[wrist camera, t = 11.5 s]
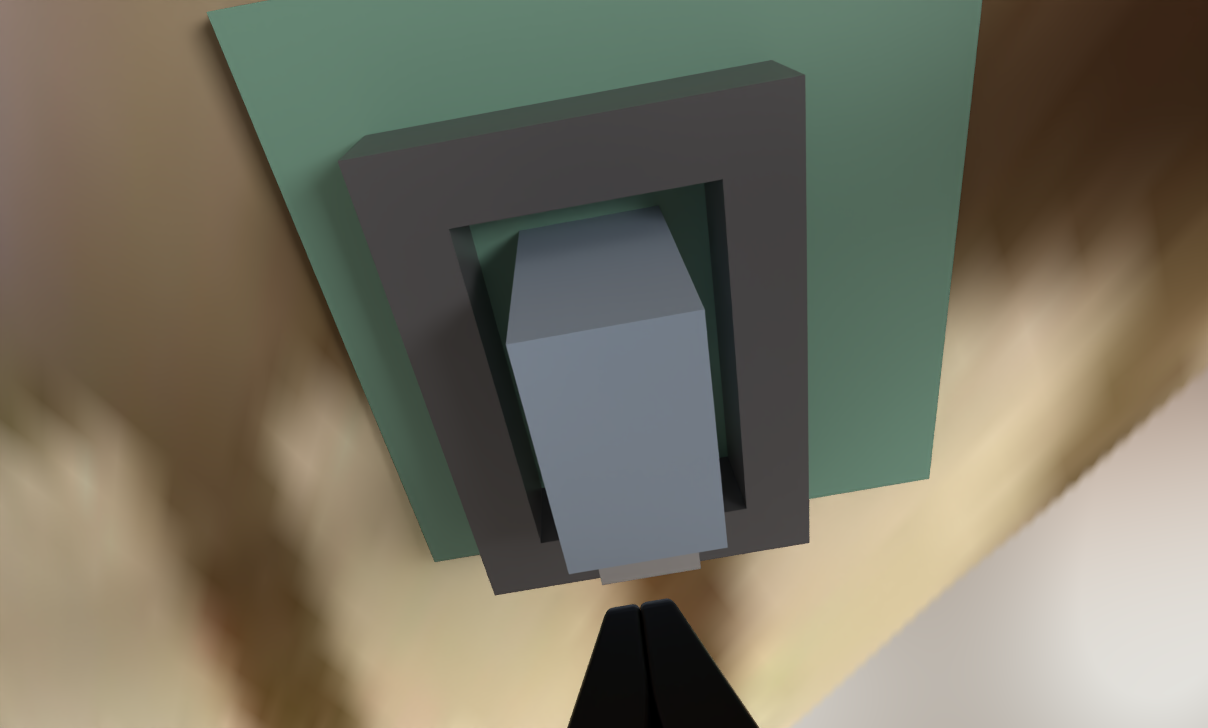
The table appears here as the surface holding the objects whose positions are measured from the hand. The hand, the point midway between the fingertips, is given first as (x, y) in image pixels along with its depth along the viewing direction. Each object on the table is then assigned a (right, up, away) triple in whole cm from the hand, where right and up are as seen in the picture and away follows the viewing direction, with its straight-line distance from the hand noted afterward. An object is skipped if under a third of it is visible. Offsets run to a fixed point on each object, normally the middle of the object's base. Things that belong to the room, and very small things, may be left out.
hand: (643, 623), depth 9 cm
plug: (0, +4, +7) cm, 8 cm away
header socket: (0, +4, +8) cm, 9 cm away
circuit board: (0, +5, +7) cm, 9 cm away
